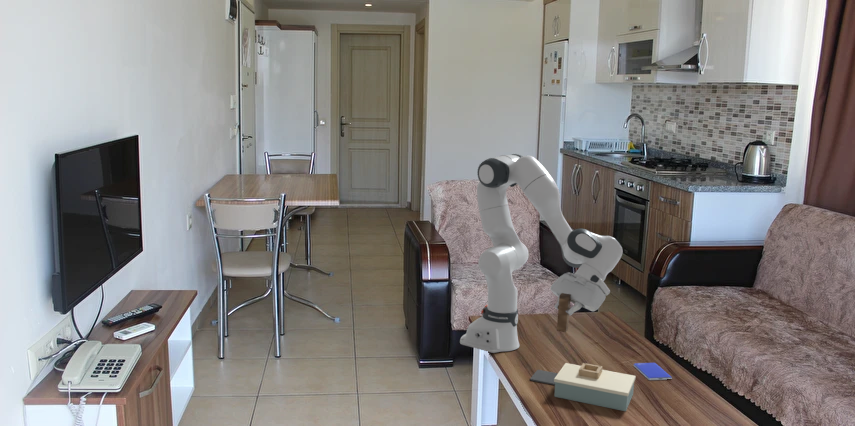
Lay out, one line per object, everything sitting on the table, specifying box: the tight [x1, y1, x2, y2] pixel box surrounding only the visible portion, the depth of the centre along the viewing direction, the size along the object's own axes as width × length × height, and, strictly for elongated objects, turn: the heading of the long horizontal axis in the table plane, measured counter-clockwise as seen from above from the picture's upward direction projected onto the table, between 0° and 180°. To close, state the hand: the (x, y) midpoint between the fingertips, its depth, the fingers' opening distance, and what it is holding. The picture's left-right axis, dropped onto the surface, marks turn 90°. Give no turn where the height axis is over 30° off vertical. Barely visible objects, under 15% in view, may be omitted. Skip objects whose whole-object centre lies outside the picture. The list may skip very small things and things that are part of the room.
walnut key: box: [556, 293, 571, 333], centre depth 225 cm, size 3×3×12 cm
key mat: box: [529, 369, 559, 386], centre depth 232 cm, size 9×9×1 cm
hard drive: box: [633, 362, 673, 381], centre depth 238 cm, size 2×8×12 cm
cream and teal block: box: [554, 362, 637, 412], centre depth 219 cm, size 23×15×8 cm, turn 65°
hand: (562, 311), depth 224 cm, fingers closed on walnut key, 4 cm apart
